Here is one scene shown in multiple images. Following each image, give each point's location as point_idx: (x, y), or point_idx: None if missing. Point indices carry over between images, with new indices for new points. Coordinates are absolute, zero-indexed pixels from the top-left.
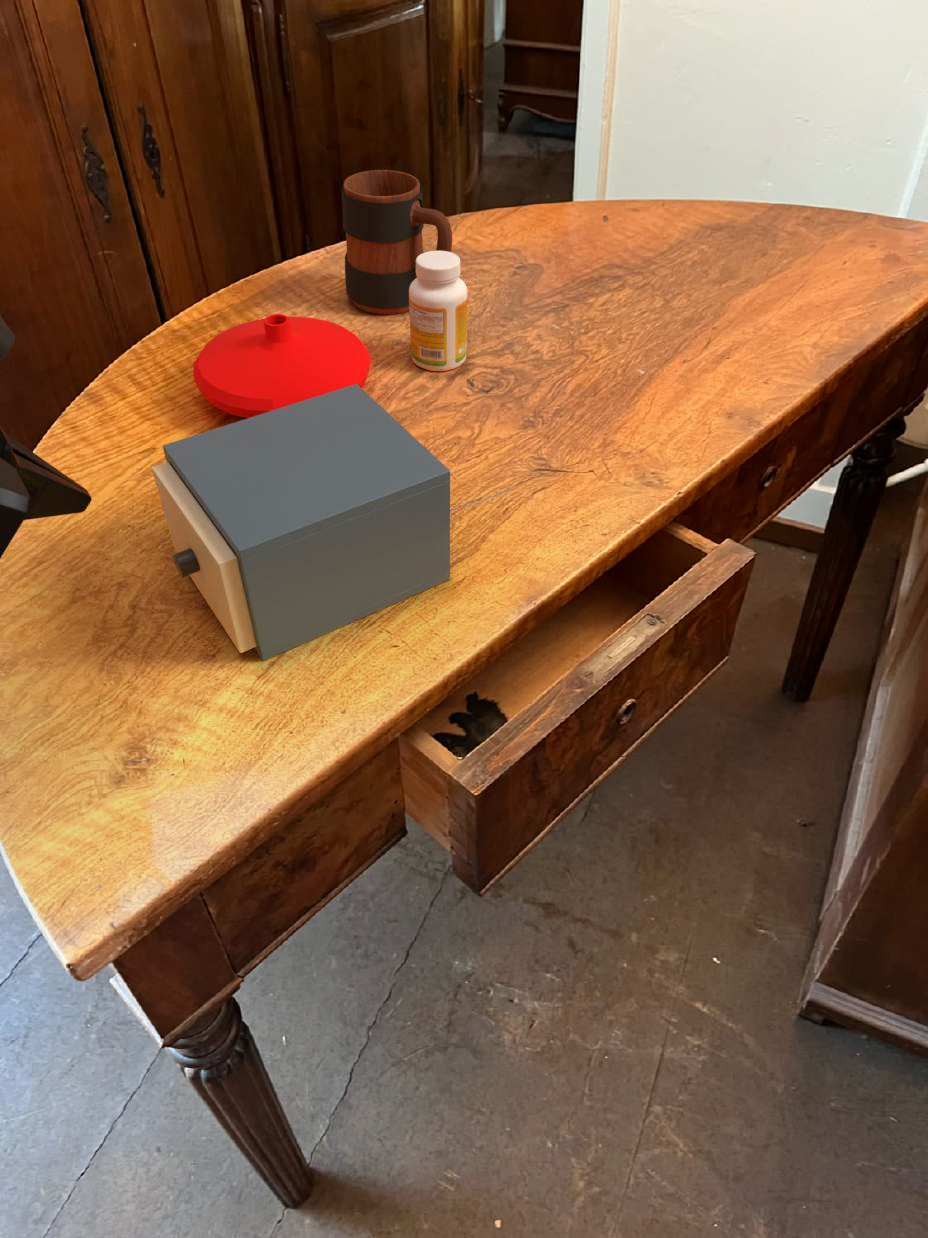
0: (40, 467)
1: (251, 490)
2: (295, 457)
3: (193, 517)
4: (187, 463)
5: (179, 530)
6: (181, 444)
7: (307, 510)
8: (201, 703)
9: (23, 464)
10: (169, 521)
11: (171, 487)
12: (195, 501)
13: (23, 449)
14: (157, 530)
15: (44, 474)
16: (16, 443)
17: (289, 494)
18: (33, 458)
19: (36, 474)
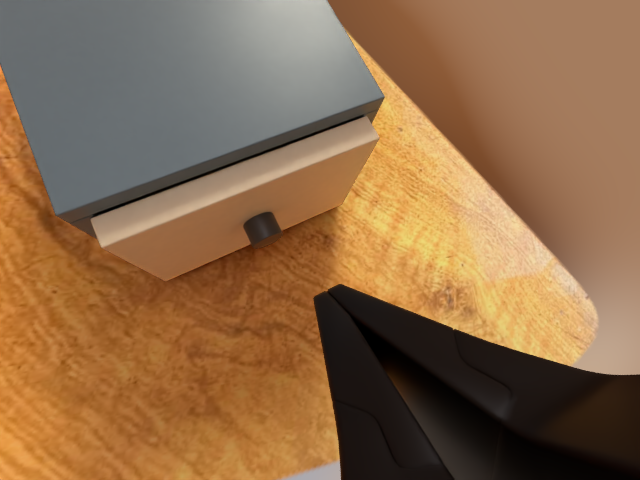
0: (419, 359)
1: (242, 73)
2: (162, 8)
3: (270, 171)
4: (137, 167)
5: (210, 233)
6: (63, 180)
7: (303, 10)
8: (386, 245)
9: (539, 378)
10: (163, 260)
11: (178, 208)
12: (228, 169)
13: (379, 427)
14: (85, 320)
15: (456, 338)
16: (373, 457)
17: (261, 27)
18: (395, 387)
19: (500, 347)
